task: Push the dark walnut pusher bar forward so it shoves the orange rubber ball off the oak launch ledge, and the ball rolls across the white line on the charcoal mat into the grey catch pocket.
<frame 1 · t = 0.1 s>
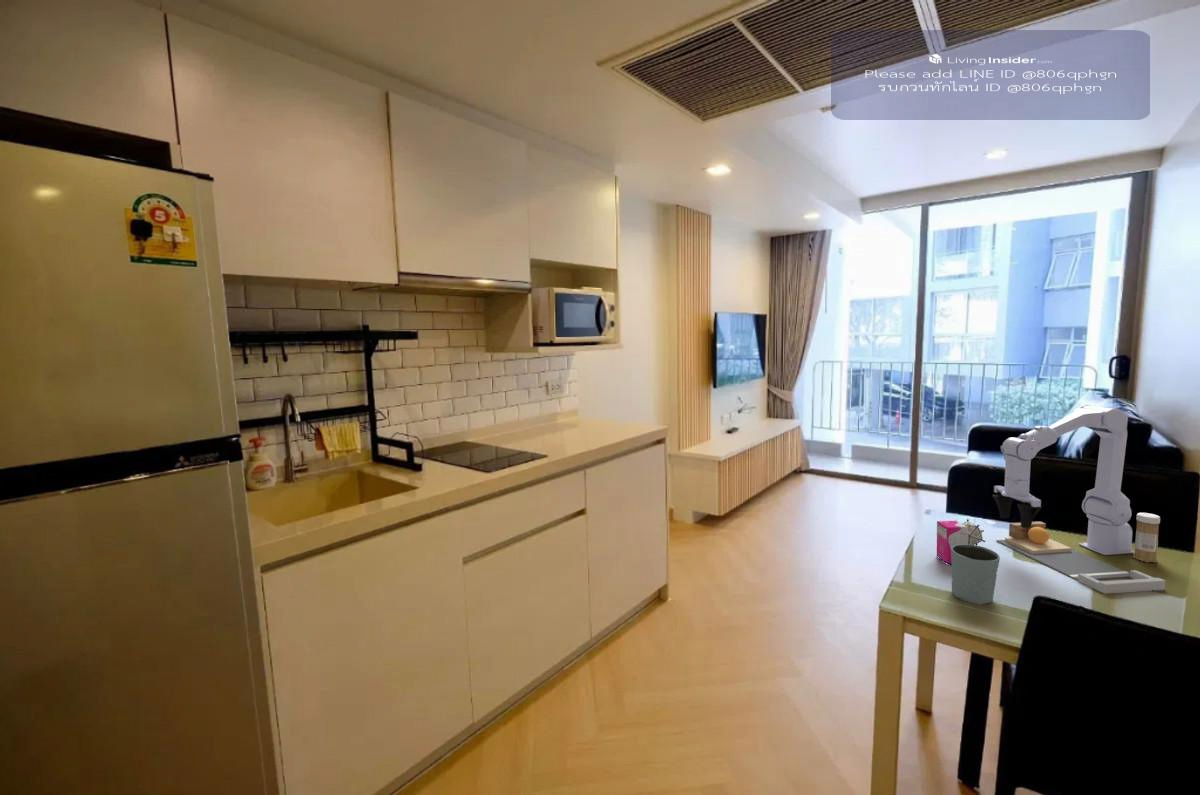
hand: (1015, 522, 153), 10 cm above the table, tool pointing down, fingers open, 7 cm apart
grey-green plant pot: (973, 596, 132), on the table
pusher bar: (1027, 529, 162), point 4 cm above the table, slide at 0.0 cm
game die: (967, 546, 162), on the table
ball: (1038, 535, 158), point 4 cm above the table, touching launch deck
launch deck: (1048, 552, 154), on the table
supplement box: (951, 561, 152), on the table
sprinkles bottle: (1144, 560, 147), on the table
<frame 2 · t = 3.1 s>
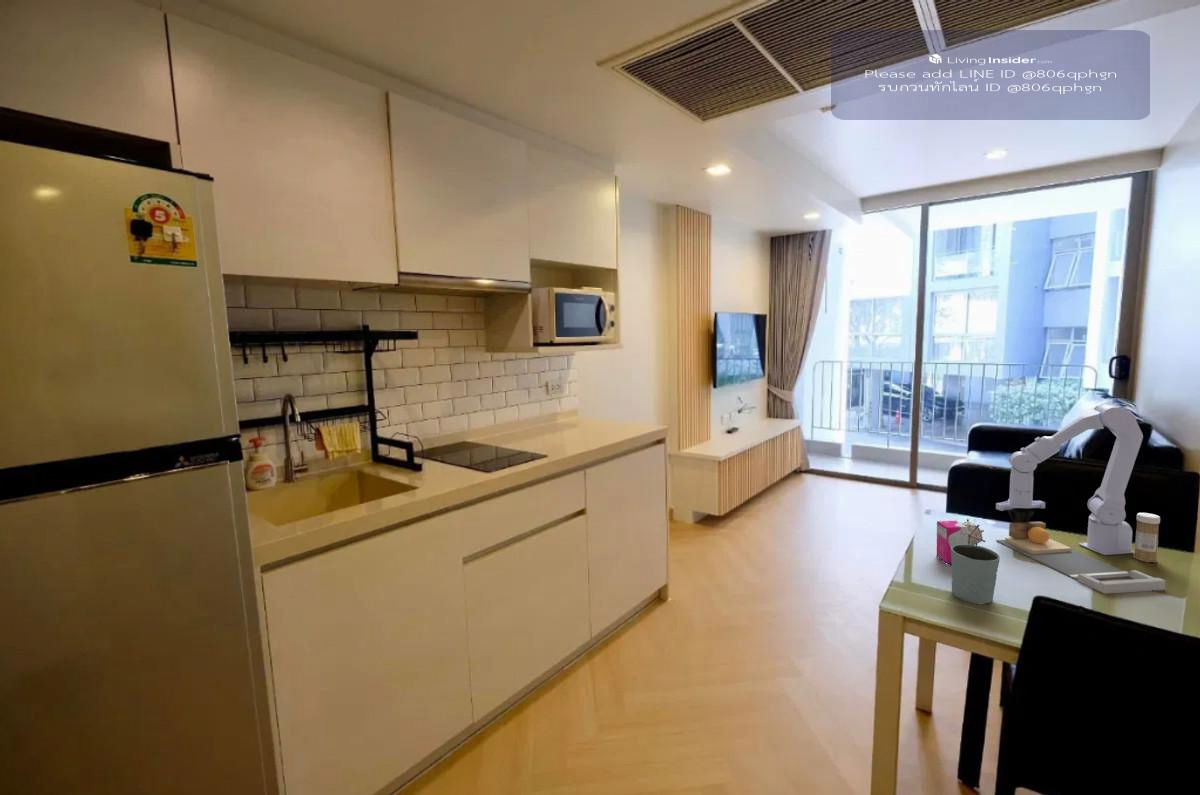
hand: (1019, 530, 165), 3 cm above the table, tool pointing down, fingers closed, pressing on pusher bar
pusher bar: (1027, 529, 162), point 4 cm above the table, slide at 0.0 cm, touching gripper
everything else where it was.
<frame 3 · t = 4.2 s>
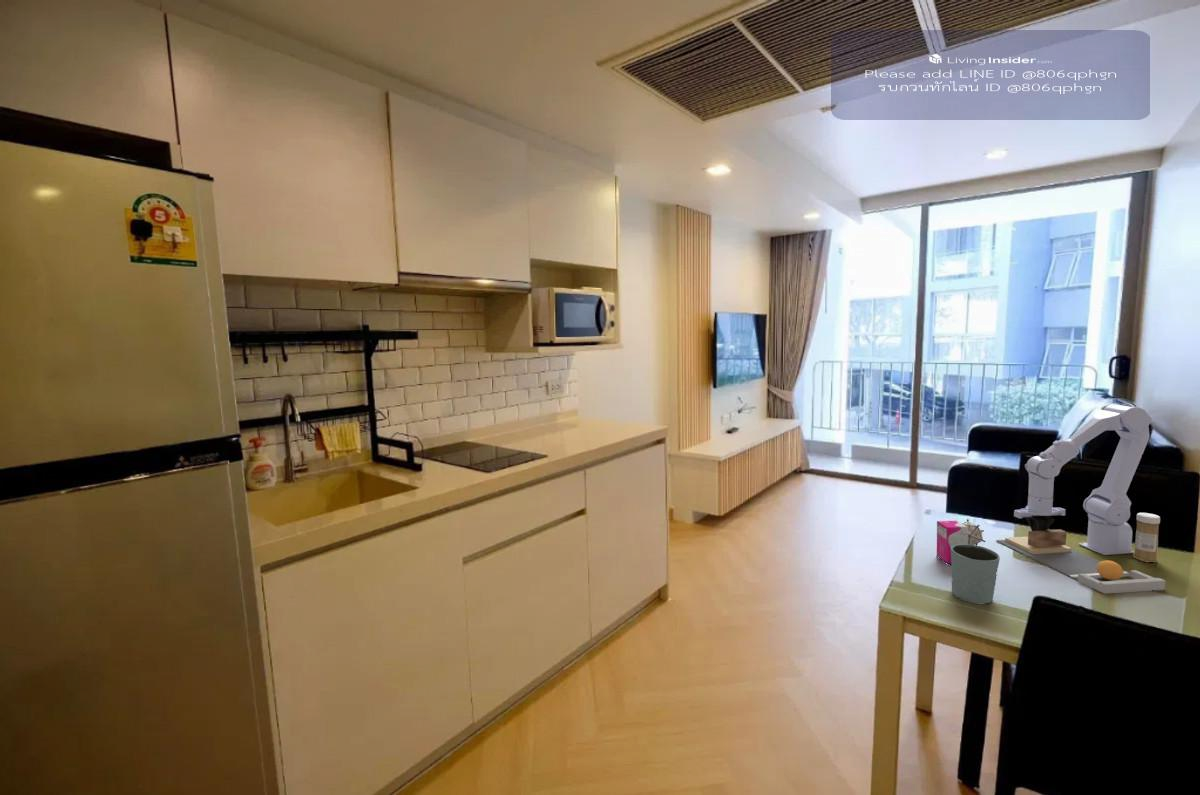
hand: (1038, 538, 158), 3 cm above the table, tool pointing down, fingers closed, pressing on pusher bar
pusher bar: (1047, 538, 155), point 4 cm above the table, slide at 6.9 cm, touching gripper
ball: (1109, 570, 137), point 3 cm above the table, tilted 137°, touching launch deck
everything else where it was.
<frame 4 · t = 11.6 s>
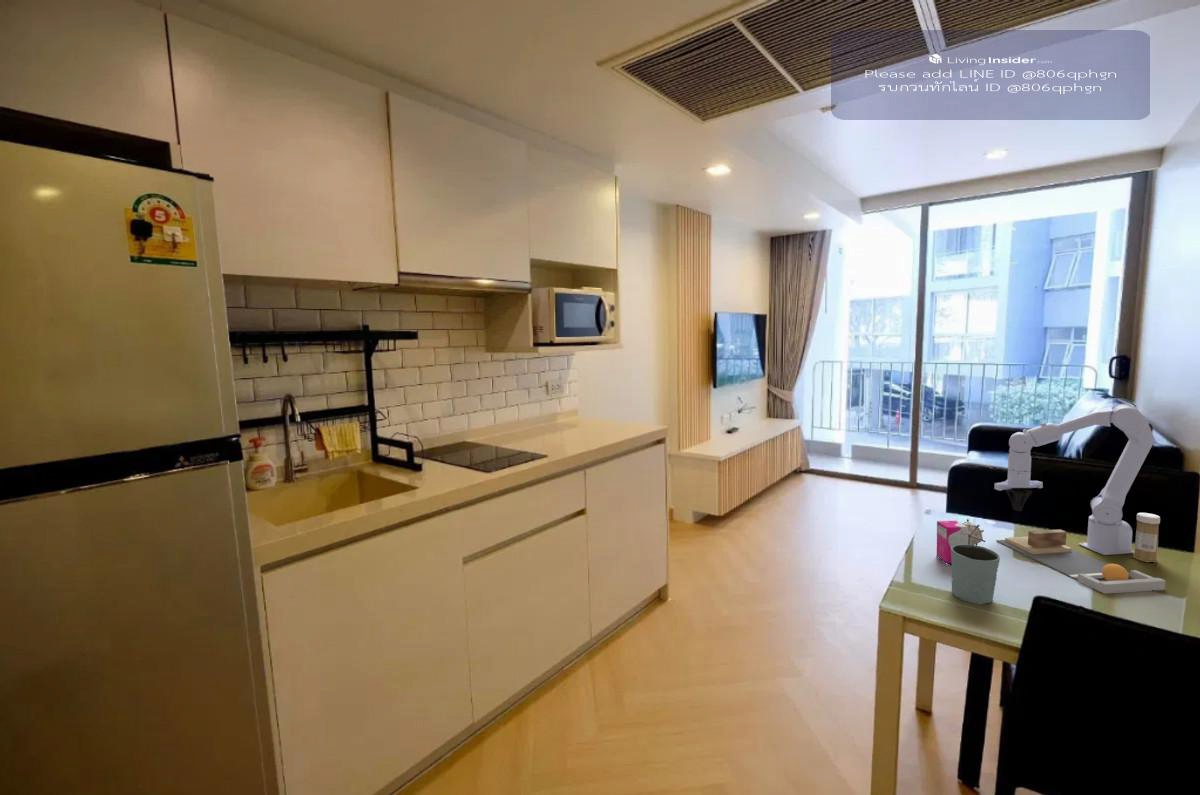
hand: (1017, 510, 167), 8 cm above the table, tool pointing down, fingers closed
pusher bar: (1047, 538, 155), point 4 cm above the table, slide at 6.9 cm
ball: (1114, 573, 135), point 2 cm above the table, tilted 174°
everything else where it was.
at the end: ball inside the target area (1.4 cm from its centre), point 2.5 cm above the table; ball moved 22.8 cm from its start; the gripper is holding nothing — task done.
